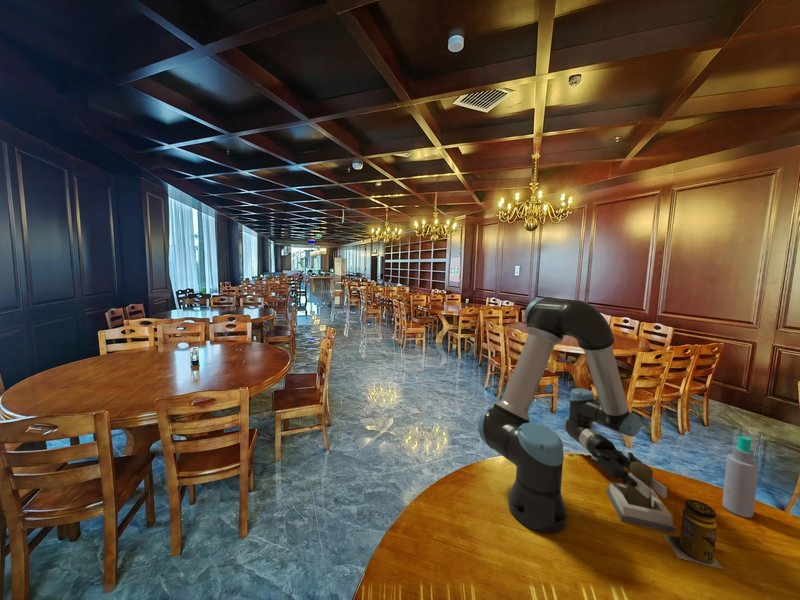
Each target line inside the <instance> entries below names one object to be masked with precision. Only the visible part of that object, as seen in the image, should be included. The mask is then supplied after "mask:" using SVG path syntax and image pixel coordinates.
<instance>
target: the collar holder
mask: <svg viewBox="0 0 800 600" xmlns="http://www.w3.org/2000/svg"><path fill="white" fill-rule="evenodd" d="M628 485H629V484H627V483H621V482H616V481H615V482H614V481H609V487H606V494H607V496H608V498H609V500H610V502H611V504H612V506H613V508H614V510H615V512H616V514H617V516H618V518H619V520H620V521H621V522H623V523H627V524H632V525H637V526H641V527H645V528H648V529H653V530H658V531H662V532H663V531H664V532H667V533H673V534H676V527H675V525H674V524H673V519H674V517H673V516H672V514H671V513H670V511H669V510H668V509H667V507H666V505H664V503H663V502H662V500H661V499H660V498H659V496H658V495H657V494H656V491H654V490H653V489H652V488H650V489H651V501H652V508H651V509H649V508H645V507H640V506H635V505H633V504H631V503H630V502H629V501H628V500H627V499H626V492H627V488H628Z"/></svg>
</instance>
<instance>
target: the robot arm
mask: <svg viewBox="0 0 800 600" xmlns="http://www.w3.org/2000/svg"><path fill="white" fill-rule="evenodd" d="M523 321H524V323H525V325H526V328H525V331H526V332H527V338H526V340H525V342H524V345H523V348H522V350H521V353H520V355H519V357H518V358H517V359H518V360H517V362H516V364H515V366H514V369H513V370H512V371H513V372H512V373H511V376H510V379H509V380H508V383H507V386H506V388H505V391H504V393H503V395H502V398H501V399H499V400H498V401H495V402H494V404H493V407H488V408H486V409H485V410H483V412H481V414H480V417H479V420H478V424H477V425H478V427H477V431H478V433H479V437H480V438H481V441H482V442H484V444H485V445H487V446H488V447H489V448H490V449H492V450H493V451H495V452H497V453H498V454H499V455H501V456H502V457H504V458H505V459H507V460H508V461H509V462H511V464H513V465H515V466H516V467H515V468H516V469H515V470H516V472H515V481H514V482H513V484H512V487H511V489H510V491H509V492H508V493H509V494H508V498H507V499H508V500H507V501H508V504H507V506H508V509H509V511H510V514H511V515H512V514H513V515H512V516H513V517H514V518H515V520H517V519H518V520H519V521H520V522H521V523H520V522H519V521H518V520H517V521H518V522H519V523H520V524H522V523H523V524H522V525H523V526H524V527H526V526H527V528H528V529H530V530H533V531H535V532H539V533H544V534H557V533H558V532H561V531H563V530H564V529H565V528H566V526H567V517H568V514H567V509H566V504H565V503H564V502H565V501H564V498H563V495H562V482H563V481H562V480H563V478H562V477H563V468H564V467H563V466H564V465H563V464H564V460H565V457H564V455H565V454H564V444H563V441H562V439H561V437H560V436H559V435H558V434H557V433H556V432H555V431H554V430H552V429H550V428H549V427H547V426H545V425H542V424H537V423H535V422H531V419H530V416H529V413H528V412H529V411H530V408H531V405H532V403H533V401H534V398H535V396H536V393H537V390H538V388H539V385H540V383H541V380H542V378H543V376H544V372H545V370H546V368H547V366H548V362H549V361H550V358H551V356H552V353H553V351H554V348H555V346H556V345H559V344H561V343H562V342H563V340H564V337H565V336H567V337H571V338H572V337H573V338H574V339H575V340H576V342H577V344H578V347H579V348H580V349H581V350H583V352H584V354H585V358H586V362H587V365H588V368H589V372H590V374H591V378H592V382H593V385H594V388H595V391H596V392H595V393H596V396H597V399H595V394H594V392H593V391H591V390H590V389H586V388H580V387H578V388H577V387H576V388H573V389H571V390H570V398H569V412H568V413H569V414H568V415H567V416H566V417H565V418H564V419H563V422H562V428H563V430H564V431H565V432H566V434H567V435H568V436H569V437H570V438H571V439H573V440H574V441H576V442H577V443H578V444H579V445H580V446H581V447H583V448H584V449H585V450H586V451H587V452H588V453H589V454H590V455H591V458H590V459H591V461H592V462H594V463H595V464H597V465H598V466H599V467H601V468H602V469H603V470H604V471H605V472H606V473H608V474H609V475H610V476H611V477H612V478H613V479H615V480H620V479H621V484H628V485H629V484H630V485H631V486H633V487H634V488H636V489H637V490H638V491H639V492H640V493H641V494H643V495H644V496H645V497H646V498H650V489H652V490H653V491H654V492H655V493H657V494H658V495H659V496H661V498H663V499H667V496H668V494H667V493H668V488H667V486H665V485H664V484H662V483H661V482H660V481H659V480H657V479H656V478H655V477H654V475H653V476H652V478H651V479H650V488H649V487H648V486H647V485H645V484H644V483H643V482H642V481H640V480H639V479H638V478H637V477H635V476H634V475H633V474H632V473H631V472H628V471H630V464H631V463H632V462H641V463H643V462H642V461H641V460H639V458H637V457H636V456H635V455H634V453H633V452H629V451H628V452H627V453H623V451H620V450H618V449H617V448H616V446H615V445H614V443H613V442H612V441H611V440H609V439H608V438H607V437H606V436H604V435H603V434H602V433H600V432H599V431H597V430H596V429H595V428H594V427H592V426H593V422H594V423H596V424H599V425H601V426H603V427H606V428H607V429H610V430H613V432H617V433H618V434H622V435H624V436H627V437H630V438H631V437H637V435H638V434H639V432H640V430H641V429H642V420H641V419H642V418H641V417H640V416H639V415H637V414H635V413H633V412H631V411H630V410H629V406H628V402H627V399H626V396H625V391H624V388H623V387H624V386H623V383H622V379H621V376H620V372H619V368H618V364H617V360H616V356H615V353H614V349H613V345H614V344H615V337H614V333H613V330H612V328H611V326H610V324H609V322H608V321H607V319H606V318H605V317H604V315H602V313H601V312H600V311H599V310H598V309H596V308H595V307H594V306H593V305H592V304H590V303H588V302H586V301H583V300H578V299H566V298H553V297H538V298H536V299H533V300H532V301H530V303H528V305H527V307H526V309H525V311H524V319H523ZM626 470H628V471H626ZM652 472H653V473H654V471H653V469H652Z"/></svg>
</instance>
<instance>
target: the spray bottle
mask: <svg viewBox="0 0 800 600" xmlns="http://www.w3.org/2000/svg"><path fill="white" fill-rule="evenodd" d="M736 443H737V445H734V446H733V450H732V453H728V454H727V455H726V462H725V463H726V464H725V472H724V482H723V491H722V502H721V505H722V507H723V508H725V509H726V510H727V511H729V512H730V513H732V514H734V515H737V516H740V517H741V518H748V519H749V518H752V517H754V514H755V503H756V502H755V501H756V494H757V493H756V492H757V485H758V476H759V468H760V467H759V466H760V465H759V464H758V462H757V461H755V460H754V458H755V457H754V456H755V452H754V451H753V450H752V438H750V437H748V436H745V435H738V438H737V442H736ZM727 491H729V492H727ZM742 496H744V497H746V498H744V497H742ZM749 499H751V500H749ZM752 500H754V501H752Z"/></svg>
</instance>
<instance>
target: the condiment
mask: <svg viewBox="0 0 800 600" xmlns="http://www.w3.org/2000/svg"><path fill="white" fill-rule="evenodd" d="M681 512H682V513H681V523H680V533H679V534H680V536H675V535H672V534H667V533H663V532H662V535H663V537H664V538H665V540H666V541H667V543H668V545H669V547H670V548H671V549H672V550H673V552H674V554H675V555H676V556H677V558H678V559H682V560H684V561H689V562H693V563H697V564H699V565H700V564H701V565H704V566H709V567H713V568H717V569H724V567H723V566H722V565H721V563H719V562H718V560H717V559H716V558H715V550H716V540H717V539H716V538H717V531H718V524H717V522H716V521H717V519H716V518H717V513H716V511H715V510H714V509H713V508H712V507H711V506H710V505H708V504H707V503H704V502H702V501H700V500H696V499H692V498H691V499H687V500H686V501H685V505H684V509H682V511H681Z"/></svg>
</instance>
